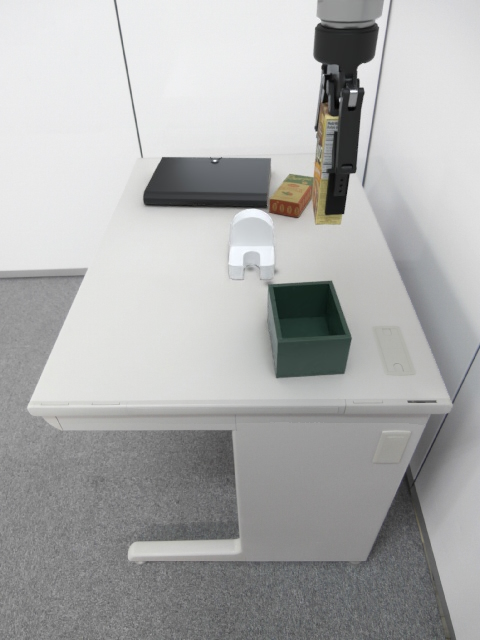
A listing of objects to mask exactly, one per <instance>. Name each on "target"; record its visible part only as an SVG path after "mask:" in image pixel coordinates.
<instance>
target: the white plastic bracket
mask: <svg viewBox="0 0 480 640" xmlns="http://www.w3.org/2000/svg"><path fill="white" fill-rule="evenodd" d="M228 256H229V257H228V273H229V274H228V275H229V278H230V279H231V280H244V274H245V273H244V272H245V268H246V267H247V266H250V265H253V266H257V267H258V268H259V280H272V279H274V278H275V225H274V222H273V219H272V218H271V216H270V215H269V214H268V213H266V212H265V211H264V210H261V209H259V208H247V209H243V210H241V211H239V212H238V213H236V214H235V216H233V218H232V220H231V223H230V229H229V255H228Z"/></svg>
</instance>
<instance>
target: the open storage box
mask: <svg viewBox="0 0 480 640" xmlns="http://www.w3.org/2000/svg"><path fill="white" fill-rule="evenodd" d="M341 305H342V304H341V302H340V299H339V295H338V293H337V290H336V287H335V284H334V282H333V280H316V281H300V282H281V283H269V284H267V311H266V312H267V313H266V316H267V319H266V320H267V327H268V333H269V340H270V346H271V352H272V353H271V354H272V360H273V365H274V366H273V367H274V372H275V378H276V379H283V378H299V377H313V376H330V375H345V374H346V368H347V364H348V359H349V355H350V350H351V349H350V348H351V344H352V339H353V337H352V334H351V332H350V329H349V326H348V323H347V322H348V321H347V320H346V317H345V314H344V311H343V307H342V306H341Z"/></svg>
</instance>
